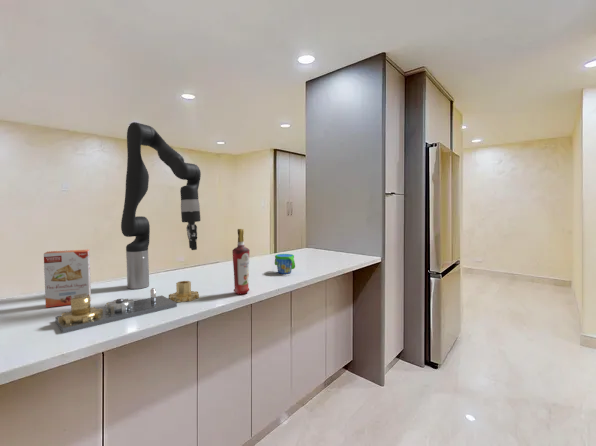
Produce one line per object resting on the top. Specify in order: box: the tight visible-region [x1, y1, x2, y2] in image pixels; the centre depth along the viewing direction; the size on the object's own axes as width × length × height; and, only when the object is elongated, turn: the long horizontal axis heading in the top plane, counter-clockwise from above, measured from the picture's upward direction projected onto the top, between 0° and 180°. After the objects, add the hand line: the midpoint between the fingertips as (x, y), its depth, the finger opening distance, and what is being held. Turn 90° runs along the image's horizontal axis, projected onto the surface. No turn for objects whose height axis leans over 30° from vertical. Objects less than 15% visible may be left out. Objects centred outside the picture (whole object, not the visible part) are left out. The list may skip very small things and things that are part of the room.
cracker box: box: [43, 249, 92, 309], centre depth 123 cm, size 14×6×21 cm, turn 117°
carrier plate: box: [54, 287, 178, 334], centre depth 112 cm, size 14×35×8 cm, turn 135°
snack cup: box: [274, 253, 296, 275], centre depth 178 cm, size 16×10×10 cm
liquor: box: [232, 228, 250, 295], centre depth 137 cm, size 7×7×28 cm
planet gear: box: [168, 280, 200, 303], centre depth 131 cm, size 12×12×6 cm
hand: (193, 249), depth 133 cm, fingers open, 8 cm apart
